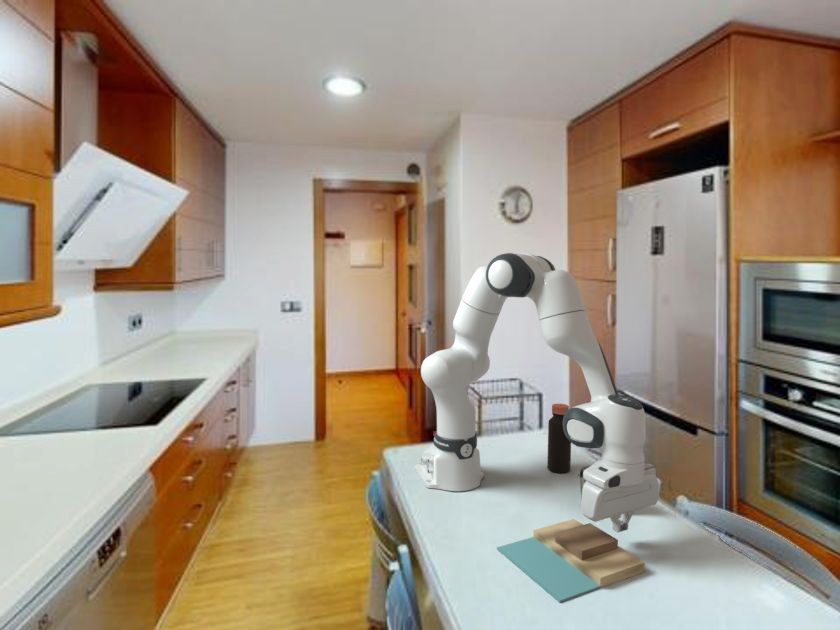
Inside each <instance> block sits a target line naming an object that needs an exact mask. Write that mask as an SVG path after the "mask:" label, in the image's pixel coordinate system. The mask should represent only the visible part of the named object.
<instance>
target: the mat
mask: <svg viewBox="0 0 840 630" xmlns="http://www.w3.org/2000/svg"><path fill="white" fill-rule="evenodd" d="M496 550H497V551H498V552H499V553H500V554H502V555H503V556H504V557H505V558H507V560H509V561H510V562H511V563H513V565H515V566H516V567H517V568H518V569H519V570H520V571H521V572H523V573H524V574H525V575H527V576H528V578H530V579H531V580H532V581H534V582H535V583H536V584H537V585H538V586H539V587H541V588H542V589H543V590H544V591H545V592H546V593H548V594H549V595H550V596H551V597H552V598H554V600H555V601H556V602H557V603H563V602H565V601H568V600H571V599H574V598H576V597H579V596H581V595H584V594H587V593H590V592H593V591H595V590H599V589H601V588H600V585H598V584H597V583H596V582H594V581H593V580H592V579H590V578H589V577H587V576H586V575H585V574H583V573H582V572H581V571H579V570H578V569H576V568H575V567H574V566H572V565H571V564H570V563H568V562H567V561H566V560H564V559H563V558H561V557H560V556H559V555H557V554H556V553H555V552H553V551H552V550H550V549H549V548H548V547H546V546H545V545H544V544H542V543H541V542H540V541H538V540H537V539H535V538H534V537H533V536H532V537H528V538H525V539H522V540H518V541H514V542H511V543H507V544H505V545H501V546H496Z"/></svg>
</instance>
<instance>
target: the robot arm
mask: <svg viewBox="0 0 840 630" xmlns="http://www.w3.org/2000/svg"><path fill="white" fill-rule="evenodd" d="M577 283H578V282H577V281H576V280H575V277H574V275H573V274H572V273H570V272H568V271H565V270H560V269H556V268H555V266H554V264H553V263H552V262H551V261H550V260H548V259H547V258H545V257H543V256H541V255H535V254H530V253H513V252H508V253H502V254H498V255H497V256H494V257H493V258H492V260H490V261H489V263H488V264H486V265H482V266H479V267H477V268H476V270H475V271H474V273H473V275H472V276H471V278H470V280H469V282H468V284H467V285H466V288H465V290H464V292H463V294H462V297H461V299H460V303H459V305H458V307H457V310H456V313H455V315H454V318H453V321H452V328H453V330H454V331H455V336H454V342H453V344H452V346H450V348H446V349H441V350H437V351H435V352H433V353H432V354H430V355H429V356H427V357H425V358H424V359H423V361H422V362H421V363H422V364H421V367H420V375H421V376H420V377H421V379H422V381H423V383H424V384H425V386H427V387H428V388H429V389H430V391H431V393H432V394H433V395H432V396H433V399H434V401H435V407H436V431H434V433H433V436H434V438H433V443H432V444H431V445H430V446H428V447H427V448H426V449H425V450H423V452H422V457H421V458H420V463H417V464H415V465H414V467H413V468H414V471H415V473H416V474H417V476H418V477H419V479H420V480H421V481H422V484H423V485H424V486H425V487H426V488H428V489H437V490H438V489H439V490H444V491H448V492H449V491H450V492H465V491H470V490H474V489H476V488H478V487H479V486H480V485H481V483H482V481H481V480H483V478H484V477H485V473H484V472H483V471H481V470H482V469H481V468H482V467H481V455H480V454H481V453H480V450H479V449H478V448H477V446H478V435H477V432H476V416H477V415H476V406H475V404H474V403H473V402H472V401H471V400H470V397H469V395H468V389H467V388H468V387H467V386H468V384H471V383H474V382H476V381H478V380H480V379H481V378H482V377H484V376H485V375H486V374H487V373H488V371H489V369H490V364H491V360H490V359H491V358H490V356H489V354H488V352H489V345H490V340H491V336H492V333H493V331H494V329H495V327H496V324H497V321H498V319H499V316H500V314H501V312H502V309H503V306H504V304H505V302H506V300H507V299H508V298H522V299H523V298H529V299H530V300H532V301H533V304H534V305H535V308H536V311H537V316H538V317H537V318H538V321H539V325H540V326H539V327H540V330H541V334H542V335H543V336H542V337H543V338H544V341H545V344H547V346H549V348H551V349H552V351H553V350H554V351H555V352H557V353H560V354H561V355H565V356H567V357H569V358H570V359H572V360H574V361H575V362H576V363H577V364H578V365H579V367H580V369H581V370H582V373H583V376H584V380H585V382H586V385H587V388H588V390H589V394H590V401H589V402H585V403H581V404H578V405H576V406H572V407H569V410H567V411H566V413H565V414H564V417H563V430H564V433H565V435H566V437H567V438H568V440H569V441H570V442H571V444H573V445H575V446H576V447H580V448H586V449H599V450H600V452H601V455H600V457H601V458H599V459H598V460H597V461H596V462H595V463H593V464H591V466H590V467H588V468H587V469H585V470H584V472H583V478H584V479H585V480H587V481H586V482H585V483H584V485H583V489H582V500H581V499H580V501H581V502H580V504H581V505H580V507H581V510H580V511H581V512H582V514H583V516H584V517H585V518H587V519H589V520H590V521H592V522H600V521H603V520H606V519H610V521H611V523H612V530H613V531H614V532H615V533H617V534H618V533H622V532H625V531H628V530H629V523H630V521H631V519H632V517H633V514H634V513H633V512H634V511H637V510H641V509H644V508H648V507H651V506H654V505H656V504H657V503H658V500H659V481H658V477H657V476H656V475H657V474H656V473H657V471H656V470H657V469H656V468H655V466H654V465H652V464H651V463H645V461H646V460H645V455H644V446H645V444H646V434H647V431H646V430H647V429H646V428H647V427H646V426H647V425H646V415H645V414H646V413H645V409H644V408H643V407H644V406H643V404H641V402H639V401H638V400H637V399H635V398H633V397H631V396H628V395H625V394H624V395H622V394H619V392H618V389H617V387H616V384H615V382H614V379H613V376H612V372H611V370H610V366H609V364H608V360H607V358H606V355H605V353H604V350H603V348H602V345H601V344H600V342H599V340H598V338H597V337H596V336H595V334H594V331H593V328H592V327H591V323H590V320H589V317H588V314H587V311H586V305H585V302H584V298H583V295H582V293H581V291H580V288H579V286H578V284H577Z"/></svg>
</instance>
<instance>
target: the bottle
mask: <svg viewBox="0 0 840 630" xmlns="http://www.w3.org/2000/svg"><path fill="white" fill-rule="evenodd" d="M569 409H570V406H569V405H568V404H565V403H553V404H552V405H551V414H552V417H550V419H548V422H547V423H548V426H547V428H548V431H547V432H548V433H547V434H548V435H547V470H548V471H550V472H551V473H554V474H569V472H570V471H571V464H572V463H571V461H572V459H571V457H572V455H571V454H572V443H571V442H570V441H569V440H568V438H567V437H566V435H565V433H564V430H563V417H564V414H565V413H566V411H567V410H569Z"/></svg>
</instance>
